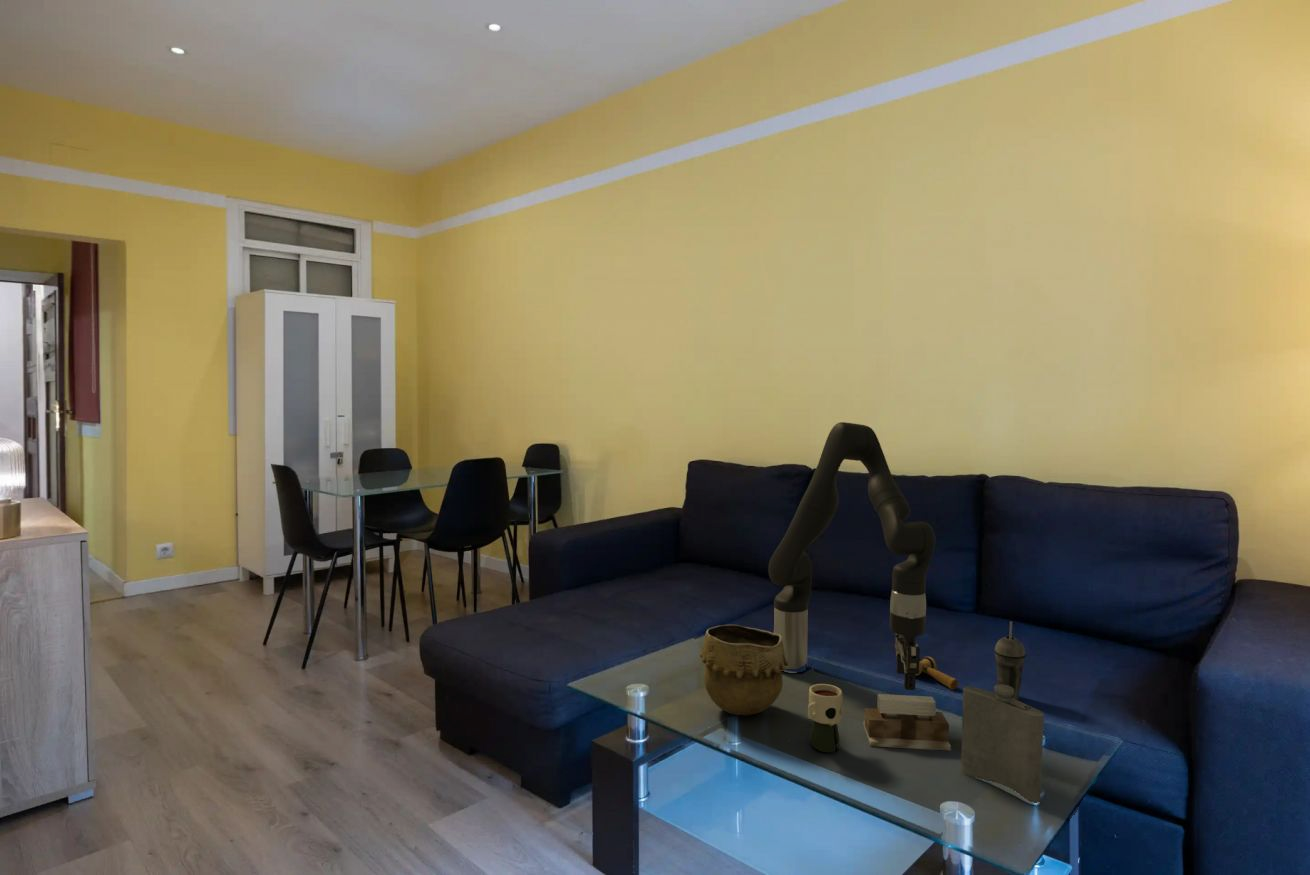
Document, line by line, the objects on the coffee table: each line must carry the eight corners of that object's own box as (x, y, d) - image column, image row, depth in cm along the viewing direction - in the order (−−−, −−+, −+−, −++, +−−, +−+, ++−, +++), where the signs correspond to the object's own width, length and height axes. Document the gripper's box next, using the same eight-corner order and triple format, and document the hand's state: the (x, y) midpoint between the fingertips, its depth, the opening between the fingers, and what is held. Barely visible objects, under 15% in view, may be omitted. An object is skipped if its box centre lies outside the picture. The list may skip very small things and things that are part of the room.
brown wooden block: (870, 745, 160) (870, 723, 159) (863, 724, 170) (863, 704, 169) (950, 750, 158) (951, 728, 157) (938, 729, 167) (939, 708, 167)
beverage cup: (1024, 694, 186) (1026, 618, 185) (1025, 705, 180) (1027, 626, 178) (992, 689, 189) (995, 614, 188) (992, 700, 183) (995, 622, 181)
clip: (879, 734, 163) (880, 700, 162) (876, 727, 166) (877, 693, 165) (934, 737, 161) (935, 702, 161) (931, 730, 164) (932, 696, 164)
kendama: (964, 690, 192) (910, 659, 207) (965, 669, 190) (910, 640, 205) (945, 701, 188) (891, 669, 204) (945, 681, 187) (891, 649, 202)
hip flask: (957, 771, 149) (960, 676, 148) (968, 765, 152) (971, 672, 150) (1035, 807, 136) (1038, 704, 135) (1046, 800, 139) (1049, 699, 137)
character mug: (821, 762, 153) (822, 702, 152) (795, 748, 159) (796, 691, 158) (853, 746, 159) (854, 689, 159) (828, 734, 165) (829, 678, 164)
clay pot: (736, 685, 192) (736, 612, 191) (804, 711, 177) (804, 631, 176) (682, 710, 177) (682, 630, 176) (751, 740, 162) (751, 653, 161)
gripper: (884, 600, 169) (882, 667, 170) (896, 620, 155) (894, 693, 156) (918, 601, 168) (915, 669, 169) (933, 622, 154) (930, 696, 155)
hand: (905, 681), depth 163 cm, fingers open, 8 cm apart
